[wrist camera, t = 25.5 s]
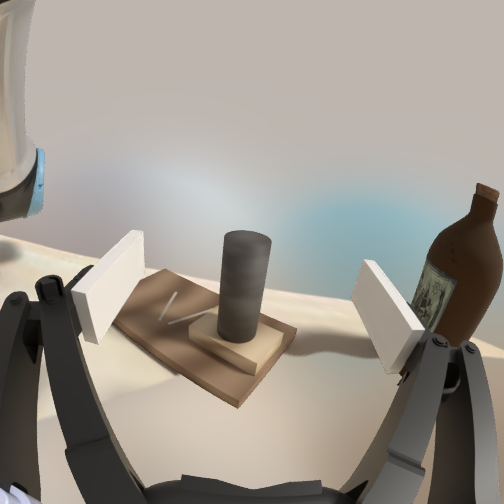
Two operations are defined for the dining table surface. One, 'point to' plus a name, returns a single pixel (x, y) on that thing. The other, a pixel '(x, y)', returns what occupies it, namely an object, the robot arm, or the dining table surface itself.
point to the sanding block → (240, 306)
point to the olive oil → (461, 273)
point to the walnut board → (177, 334)
